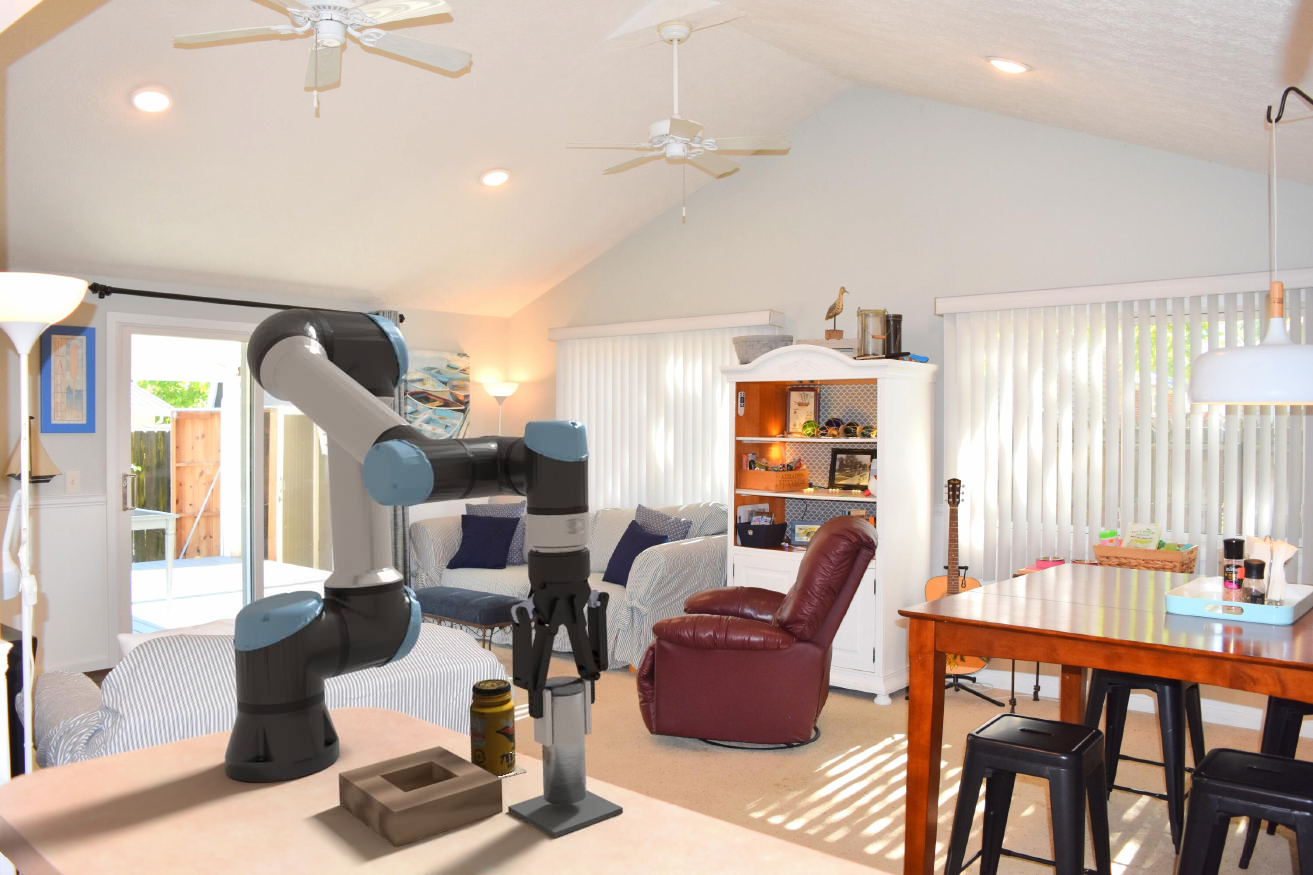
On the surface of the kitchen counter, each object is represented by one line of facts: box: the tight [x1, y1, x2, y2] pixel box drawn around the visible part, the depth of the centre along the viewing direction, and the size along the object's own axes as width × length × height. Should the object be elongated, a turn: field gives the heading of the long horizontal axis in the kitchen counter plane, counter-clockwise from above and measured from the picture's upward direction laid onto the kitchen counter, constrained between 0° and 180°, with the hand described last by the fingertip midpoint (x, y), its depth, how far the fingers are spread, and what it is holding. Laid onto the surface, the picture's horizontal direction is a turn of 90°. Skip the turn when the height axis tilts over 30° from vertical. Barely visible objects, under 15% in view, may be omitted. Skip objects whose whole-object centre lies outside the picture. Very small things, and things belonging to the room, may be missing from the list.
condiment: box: [469, 678, 527, 777], centre depth 130 cm, size 7×8×12 cm
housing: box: [338, 745, 504, 848], centre depth 118 cm, size 16×14×4 cm
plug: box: [541, 675, 587, 805], centre depth 116 cm, size 5×5×14 cm
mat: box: [507, 789, 624, 839], centre depth 116 cm, size 10×10×1 cm
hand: (563, 736), depth 116 cm, fingers closed on plug, 5 cm apart
